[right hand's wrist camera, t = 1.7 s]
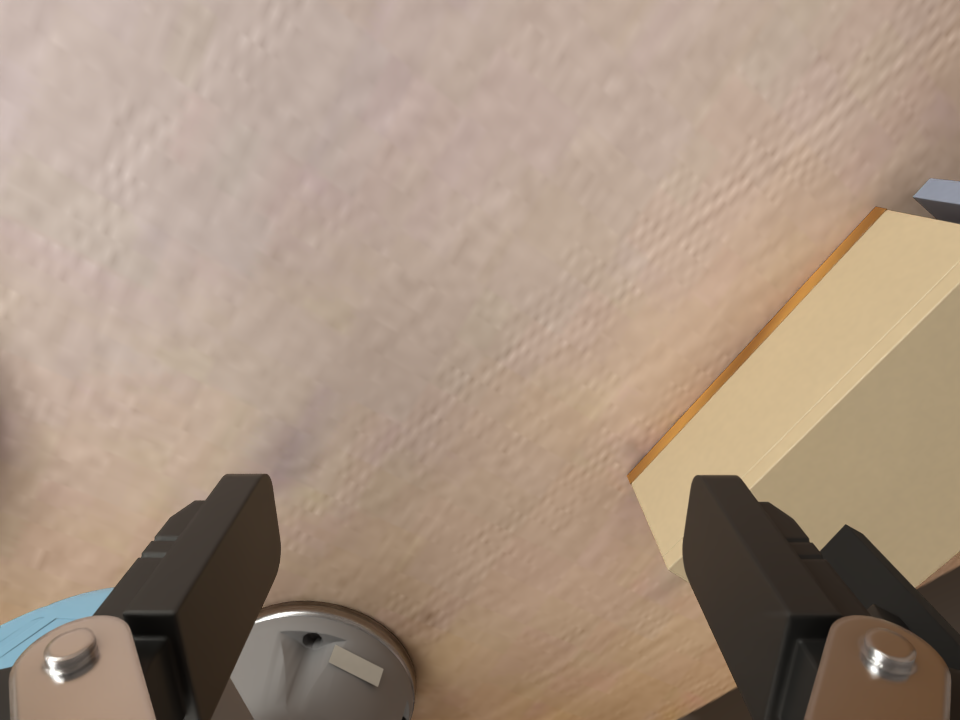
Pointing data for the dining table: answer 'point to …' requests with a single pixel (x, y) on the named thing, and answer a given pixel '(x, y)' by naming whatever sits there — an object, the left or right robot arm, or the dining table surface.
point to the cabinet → (839, 405)
